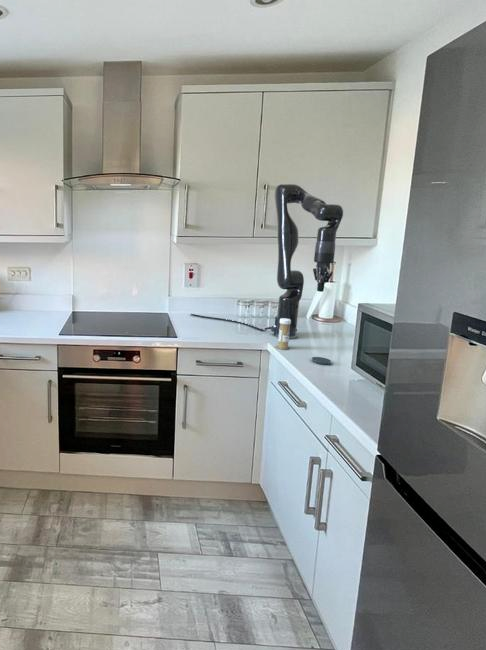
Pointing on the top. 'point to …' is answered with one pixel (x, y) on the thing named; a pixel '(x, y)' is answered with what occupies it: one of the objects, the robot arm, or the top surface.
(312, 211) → the robot arm
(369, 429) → the top surface
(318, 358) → the plate
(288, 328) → the sprinkles bottle
